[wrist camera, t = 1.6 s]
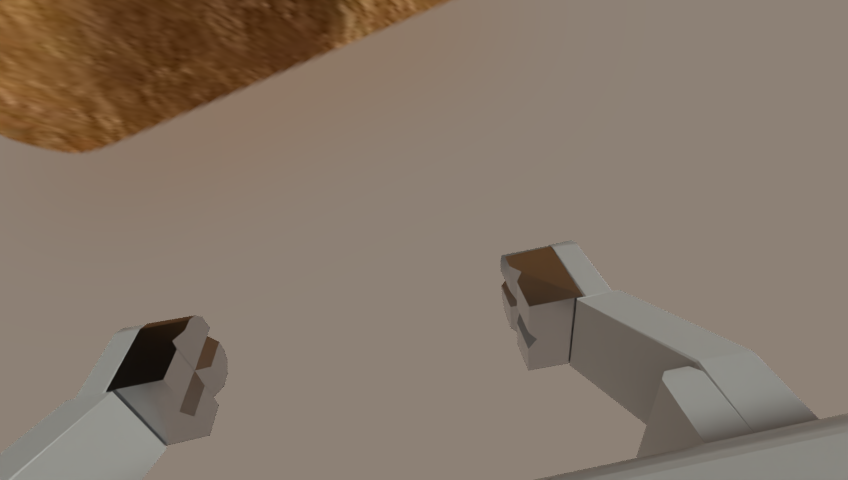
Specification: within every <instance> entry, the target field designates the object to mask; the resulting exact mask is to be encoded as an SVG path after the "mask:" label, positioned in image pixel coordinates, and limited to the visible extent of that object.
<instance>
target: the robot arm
mask: <svg viewBox="0 0 848 480" xmlns="http://www.w3.org/2000/svg"><path fill="white" fill-rule="evenodd" d="M501 272H502V274H503V276H504V279H505V282H504V283H503V285H502V298H503V303H504V309H505V313H506V316H507V319H508V321H509V324H510V327H511V328H512V329H513V330H515V331H516V332H517V339H518V346H519V349H520V351H521V354H522V356H523V358H524V361H525V363H526V366H527V368H528V370H534V369H539V368H545V367H551V366H556V365H562V364H568V363H570V366H572V367H573V368H574V369H575V370H577V371H578V372H579V373H580V374H582V375H583V376H585V377H586V378H587V379H588V380H590V381H591V382H592V383H594V384H595V385H596V386H597V387H598V388H600V389H601V390H602V391H604V392H605V393H606V394H608V395H609V396H610V397H611V398H613V399H614V400H615V401H616V402H618V403H619V404H620V405H622V406H623V407H624V408H625V409H627V410H628V411H629V412H631V413H632V414H633V415H634V416H636V417H637V418H638V419H640V420H641V421H642V422H643V423H645V424H646V425H647V426H646V429H645V432H644V435H643V438H642V441H641V445H640V447H639V451H638V454H637V458H635V459H631V460H626V461H621V462H616V463H612V464H607V465H602V466H598V467H593V468H588V469H583V470H578V471H574V472H569V473H564V474H560V475H555V476H550V477H545V478H541V479H536V480H848V413H847V414H842V415H838V416H833V417H828V418H824V419H818V418H817V417H816V415H815V414H813V412H812V411H810V409H809V408H808V407H807V406H806V405H805V404H804V403H803V402H802V401H801V400H800V399H799V398H798V397H797V396H796V395H795V394H794V393H793V392H792V391H791V390H790V389H789V388H788V387H787V386H786V384H785V383H784V382H782V380H781V379H780V378H779V377H778V376H777V375H776V374H775V373H774V372H773V371H772V370H771V369H770V368H769V367H768V366H767V365H766V364H765V363H764V362H763V361H762V360H761V359H760V358H759V357H758V355H757V354H756V353H755V352H754V351H752V350H750V349H747V348H745V347H743V346H741V345H739V344H737V343H734V342H732V341H730V340H728V339H725V338H724V337H721V336H719V335H717V334H715V333H713V332H710V331H708V330H706V329H704V328H702V327H700V326H697V325H695V324H693V323H691V322H688V321H686V320H684V319H682V318H680V317H678V316H676V315H673V314H671V313H669V312H667V311H665V310H662V309H660V308H658V307H656V306H654V305H652V304H649V303H647V302H645V301H643V300H641V299H639V298H636V297H634V296H632V295H630V294H628V293H626V292H623V291H621V290H617V291H612V290H611V289H610V288H609V286H608V285H607V283H606V282H605V281H604V279H603V278H602V277H601V275H600V274H599V273H598V271H597V270H596V269H595V267H594V266H593V265H592V263H591V262H590V261H589V259H588V258H587V257H586V255H585V254H584V252H583V251H582V250H581V248H580V247H579V246H578V245H577V243H576V242H574V241H572V240H571V241H566V242H562V243H557V244H552V245H549V246H545V247H540V248H535V249H531V250H526V251H521V252H516V253H511V254H506V255H502V256H501ZM209 329H210V327H209V326H208V324H207V323H206V322H205V320H204V319H203V318H202V317H200V316H189V317H183V318H178V319H172V320H166V321H160V322H155V323H149V324H146V325H140V326H134V327H129V328H123V329H121V330H120V331H118V332H117V333H115V334H114V336H113V338H112V339H111V341H110V342H109V344H108V345H107V347H106V349H105V350H104V352H103V354H102V355H101V357H100V359H99V360H98V362H97V364H96V365H95V367H94V368H93V370H92V372H91V373H90V375H89V377H88V378H87V380H86V382H85V383H84V385H83V386H82V388H81V390H80V391H79V393H78V394H77V396H76V398H75V399H72V400H68V401H65V402H64V403H63V404H62V405H60V406H59V407H58V408H57V409H55V410H54V411H53V412H52V413H50V414H49V415H48V416H47V417H45V418H44V419H43V420H42V421H40V422H39V423H38V424H37V425H35V426H34V427H33V428H32V429H30V430H29V431H28V432H27V433H25V434H24V435H23V436H22V437H20V438H19V439H18V440H17V441H16V442H14V443H13V444H12V445H10V446H9V447H8V448H7V449H5V450H4V451H3V452H2V453H0V480H142V479H143V478H144V476H145V475H146V474H147V472H148V471H149V470H150V469H151V468H152V466H153V465H154V464H155V462H156V461H157V460H158V459H159V457H160V456H161V455H162V454H163V452H164V451H165V450H166V449H167V447H166V446H167V445H171V444H175V443H180V442H184V441H188V440H193V439H196V438H201V437H205V436H210V433H211V430H212V426H213V423H214V420H215V416H216V413H217V409H218V406H219V405H218V403H217V401H216V400H215V398H214V396H215V395H216V394H217V393H218V392H219V391H220V390H221V389H222V388H223V387H224V385H225V381H226V377H227V374H228V373H227V357H226V354H225V351H224V349H223V348H222V346H221V344H220V343H219V342H218V341H216V340H214V339H212V338H210V337H208V336H207V335H208V332H209Z"/></svg>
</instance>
